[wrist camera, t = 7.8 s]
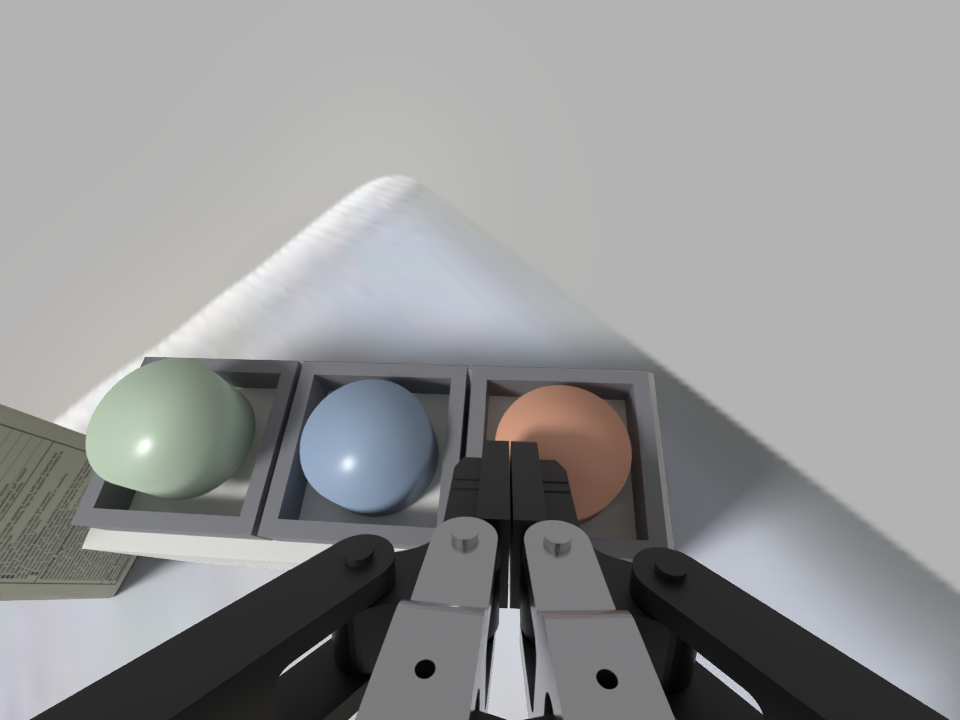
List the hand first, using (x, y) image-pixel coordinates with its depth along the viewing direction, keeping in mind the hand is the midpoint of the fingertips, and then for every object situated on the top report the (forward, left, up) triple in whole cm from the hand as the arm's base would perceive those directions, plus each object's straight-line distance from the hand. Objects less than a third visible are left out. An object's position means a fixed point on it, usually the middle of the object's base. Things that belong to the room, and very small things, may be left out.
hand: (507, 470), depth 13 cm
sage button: (+10, +4, -1) cm, 11 cm away
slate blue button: (+4, +1, -2) cm, 5 cm away
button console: (+4, +1, -10) cm, 11 cm away
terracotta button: (-1, -1, -3) cm, 3 cm away
